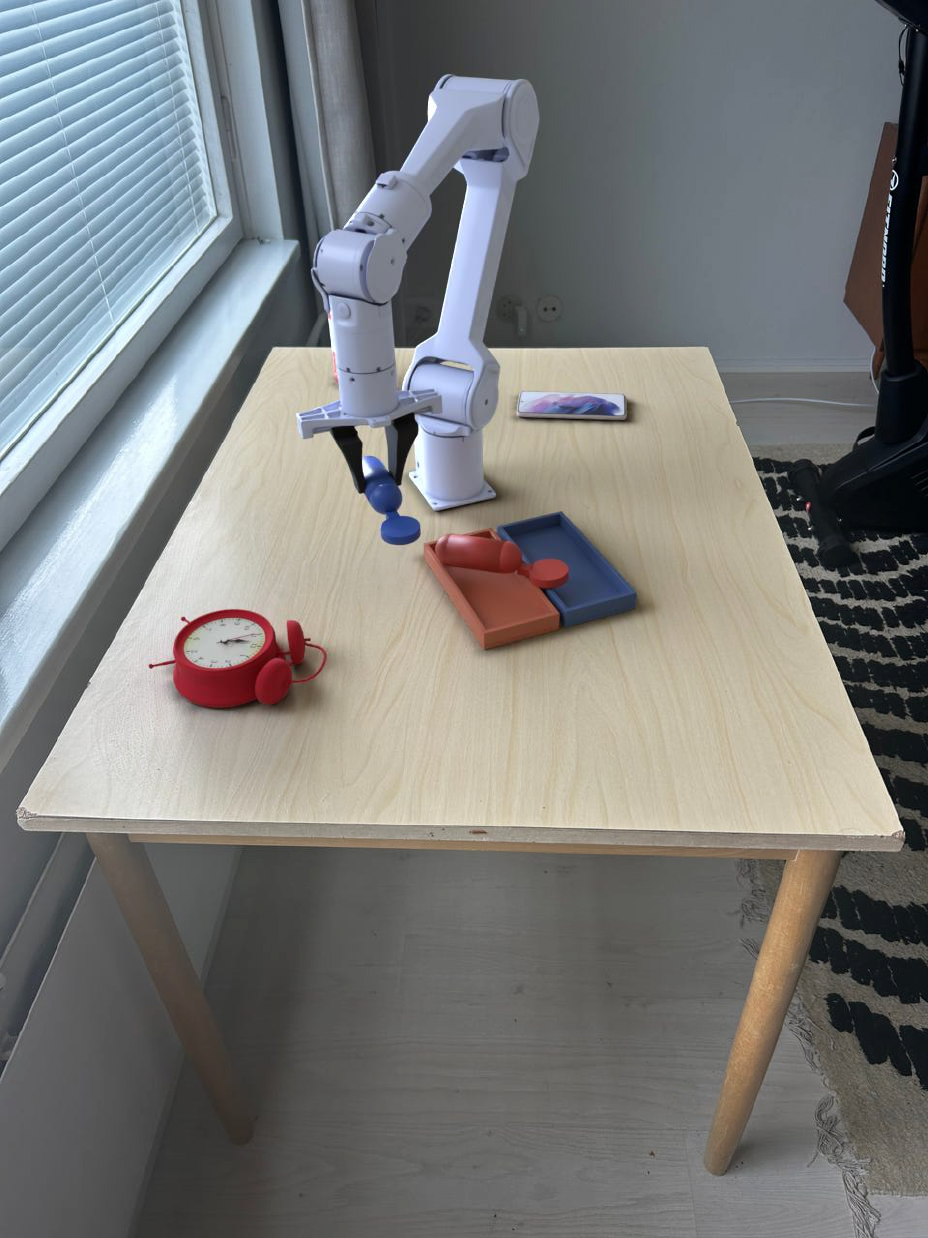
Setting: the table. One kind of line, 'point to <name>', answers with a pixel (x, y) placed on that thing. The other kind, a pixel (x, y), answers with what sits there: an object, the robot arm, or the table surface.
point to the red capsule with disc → (498, 559)
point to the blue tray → (572, 568)
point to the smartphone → (572, 405)
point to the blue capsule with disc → (388, 503)
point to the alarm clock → (235, 659)
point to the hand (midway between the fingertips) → (377, 485)
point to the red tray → (495, 600)
